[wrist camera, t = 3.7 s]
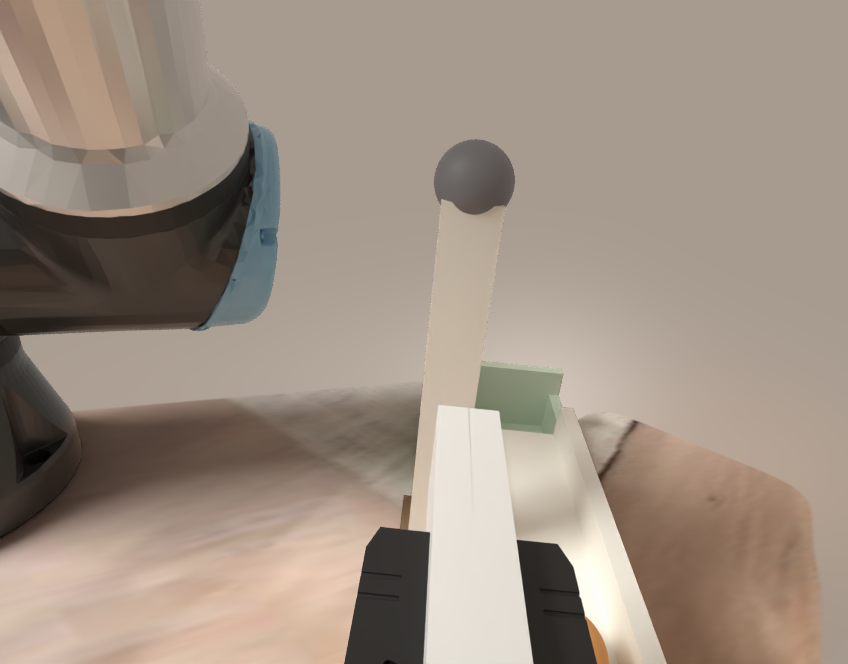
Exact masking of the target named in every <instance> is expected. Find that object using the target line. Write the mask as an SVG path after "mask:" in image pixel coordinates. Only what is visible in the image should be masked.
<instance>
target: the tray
mask: <svg viewBox="0 0 848 664" xmlns="http://www.w3.org/2000/svg"><path fill="white" fill-rule="evenodd" d="M562 378H563V371H562V369H557V368H546V367H537V366H525V365H517V364H507V363H496V362H486V361H482V362H481V369H480V376H479V382H478V389H477V395H476V402H475V408H474V409H484V410H494V411H499V415H500V422H501V429H504V430H514V431H524V432H534V433H544V434H554V429H555V425H556V421H557V417H558V413H559V408H560V407H562V405H561V402H560V399H559V391H560V387H561V383H562Z"/></svg>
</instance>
